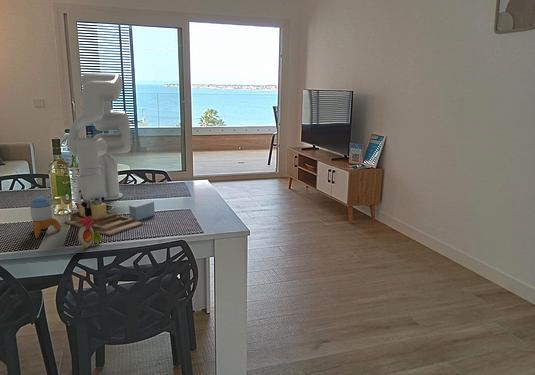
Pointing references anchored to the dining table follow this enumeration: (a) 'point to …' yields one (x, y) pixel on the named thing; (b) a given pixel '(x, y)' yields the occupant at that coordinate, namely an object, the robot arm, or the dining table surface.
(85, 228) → the bird rattle
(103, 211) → the block
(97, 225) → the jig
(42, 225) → the toy rocket
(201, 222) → the dining table surface
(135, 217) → the plank
